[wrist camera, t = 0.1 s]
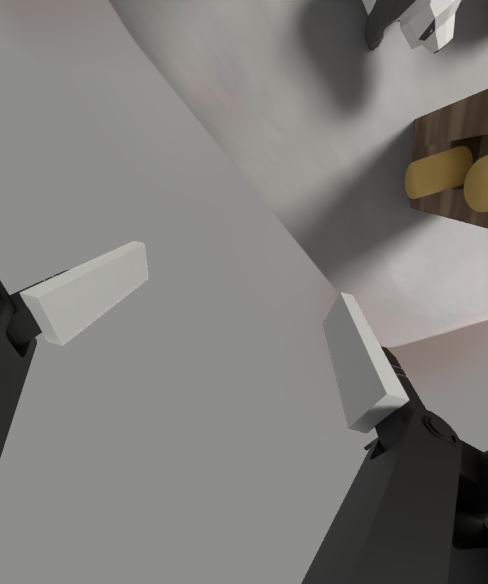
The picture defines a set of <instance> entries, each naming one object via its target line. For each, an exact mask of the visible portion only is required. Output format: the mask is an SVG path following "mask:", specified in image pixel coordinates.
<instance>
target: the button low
mask: <svg viewBox="0 0 488 584" xmlns="http://www.w3.org/2000/svg"><path fill="white" fill-rule="evenodd" d="M472 165H473V158H472V154H471V151H470V150H469V149H468V148H467V147H465V146H458V147H455V148H452V149H449V150H447V151H444V152H441V153H438V154H435V155H432V156H429V157H426V158H423V159H420V160H417V161H414V162H412V163H411V164H410V165H409V166H408V168H407V170H406V174H405V190H406V193H407V195H408V196H409V197H410V198H411V199H416V198H420V197H423V196H426V195H430V194H433V193H437V192H440V191H444V190H447V189H451V188H454V187H457V186H460V185H462V184H463V183H464V182H465V178H466V176H467V173H468V171H469V170H470V168H471V167H472Z"/></svg>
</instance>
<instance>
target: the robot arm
mask: <svg viewBox="0 0 488 584" xmlns="http://www.w3.org/2000/svg"><path fill="white" fill-rule="evenodd" d="M148 279H149V277H148V268H147V260H146V250H145V244H144V243H141V242H137V241H133V242H130V243H128V244H126V245H124V246H121V247H119V248H117V249H115V250H112V251H110V252H108V253H106V254H104V255H101V256H99V257H97V258H95V259H93V260H90V261H88V262H86V263H84V264H82V265H79V266H77V267H75V268H73V269H70V270H66V271H63V272H61V273H59V274H56V275H54V277H50V278H47V279H46V280H45V281H41V282H39V283H36V284H34V285H32V286H29V287H27V288H25V289H23V290H20V291H18V292H16V293H14V294H12V295H9V294H8V293H7V291H6V289H5V288H4V286H3V284H2V283H1V281H0V457H1V454H2V451H3V448H4V444H5V441H6V438H7V435H8V432H9V429H10V425H11V423H12V420H13V416H14V413H15V410H16V407H17V404H18V401H19V398H20V395H21V392H22V388H23V385H24V382H25V379H26V376H27V373H28V369H29V367H30V364H31V360H32V357H33V354H34V351H35V348H36V345H37V340H36V338H35V337H36V336H37V335H39V334H40V333H43V335H44V337H45V339H46V341H47V342H50V343H54V344H57V345H61V346H63V345H64V344H65V343H67V342H68V341H69V340H71V339H72V338H73V337H75V336H76V335H77V334H78V333H80V332H81V331H82V330H84V329H85V328H86V327H87V326H89V325H90V324H91V323H93V322H94V321H95V320H96V319H98V318H99V317H100V316H101V315H103V314H104V313H105V312H107V311H108V310H109V309H110V308H112V307H113V306H114V305H115V304H117V303H118V302H119V301H121V300H122V299H123V298H124V297H126V296H127V295H128V294H130V293H131V292H132V291H134V290H135V289H136V288H137V287H139V286H140V285H141V284H143V283H144V282H145V281H146V280H148ZM323 327H324V330H325V335H326V339H327V343H328V346H329V351H330V355H331V359H332V363H333V368H334V371H335V376H336V380H337V383H338V388H339V392H340V396H341V400H342V404H343V408H344V412H345V416H346V420H347V425H348V428H349V429H353V430H356V431H360V432H363V433H368V432H369V431H370V430H372V429H373V428H374V427H375V428H376V431H377V434H378V438H376V439H375V440H373V441H372V442H371V443H369V444H368V445H367V446H366V447H364V449H365V450H368V449H369V452H368V453H367V455H366V457H365V459H364V461H363V463H362V465H361V467H360V469H359V471H358V473H357V475H356V477H355V479H354V481H353V483H352V485H351V487H350V489H349V491H348V493H347V495H346V497H345V499H344V501H343V503H342V505H341V507H340V509H339V511H338V513H337V514H336V516H335V519H334V520H333V522H332V524H331V526H330V529H329V530H328V532H327V534H326V536H325V538H324V540H323V542H322V544H321V546H320V548H319V550H318V552H317V554H316V556H315V558H314V560H313V562H312V564H311V566H310V568H309V570H308V572H307V574H306V576H305V578H304V580H303V582H302V584H488V451H485V452H482V451H480V450H478V449H476V448H475V447H472V446H471V445H469V444H467V443H465V442H464V441H461V440H460V439H459V438H458V436H457V434H456V433H455V432H454V431H453V429H452V428H451V427H450V426H449V425H448V424H447V423H446V422H445V421H444V420H443V419H442V418H440V417H439V416H437V415H436V414H434V413H433V412H431V411H428V410H426V408H425V406H424V405H423V403H422V402H421V400H420V399H419V396H418V395H417V393H416V392H415V390H414V388H413V386H412V384H411V383H410V381H409V379H408V378H407V377H406V374H405V373H404V371H403V369H401V366H400V364H399V363H398V361H397V359H396V358H395V356H394V355H393V354H392V353H391V352H390V351H389V350H388V349H387V348H384V347H381V346H380V345H379V343H378V341H377V339H376V337H375V335H374V334H373V332H372V330H371V328H370V326H369V324H368V322H367V321H366V319H365V317H364V315H363V313H362V311H361V310H360V308H359V306H358V304H357V302H356V300H355V299H354V297H353V295H350V294H346V293H342V292H340V294H339V296H338V298H337V299H336V301H335V303H334V305H333V307H332V309H331V310H330V312H329V314H328V316H327V317H326V319H325V321H324V323H323Z"/></svg>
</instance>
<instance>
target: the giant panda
mask: <svg viewBox="0 0 488 584" xmlns="http://www.w3.org/2000/svg"><path fill="white" fill-rule="evenodd" d="M362 1H363V3H364V6H365V9H366V11H367V14H368V21H367V26H366V28H365V37H366V41H367V43H368V45H369V47H370V49H371V50H373V49H375V48H376V47H378V45H379V44H380V42H381V41H382V39H383V30H384V29H385V28H386V27H387V26H388V25H390V24H391V23H392V22H395V21H397V20H400V28H401V30H402V32H403V34H404V36H405V38H406V39H407V41H408V43H409V45H410V47H411V49H413V48H415V47H418V46H420V45H423V46H424V47H425V48H426V49H427V50H428V51H430V52H431V53H436V52H438V51H440V50H441V49H443V48H444V47H445V46H447V45H448V44H449V43H450V42H451V41H452V40H453V32H454V22H455V12H456V11H457V9H458V7H459V6H460V5H461V3H462V2H463V0H362Z"/></svg>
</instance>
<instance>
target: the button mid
mask: <svg viewBox="0 0 488 584" xmlns="http://www.w3.org/2000/svg"><path fill="white" fill-rule="evenodd" d="M464 197H465V200H466V202H467V204H468V205H469V206H470V207H471V208H472V209H473V210H475V211H478V212H488V155H486V156H484V157H482V158H480V159H479V160H477V161H476V162H475V163H474V164H473V165H472V167H471V168H470V170H469V171H468V173H467V176H466V178H465V182H464Z"/></svg>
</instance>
